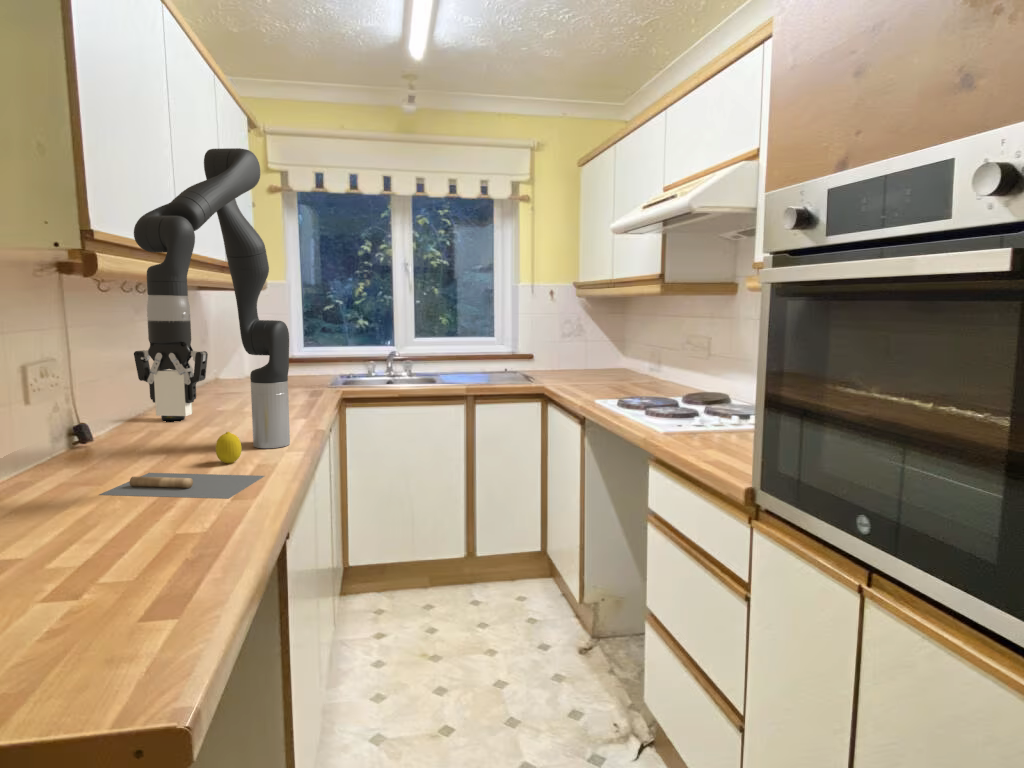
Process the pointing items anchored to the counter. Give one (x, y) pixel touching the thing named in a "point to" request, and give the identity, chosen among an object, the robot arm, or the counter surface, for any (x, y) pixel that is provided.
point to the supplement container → (172, 418)
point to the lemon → (228, 448)
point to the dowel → (161, 482)
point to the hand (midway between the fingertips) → (173, 402)
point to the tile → (170, 394)
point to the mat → (200, 489)
